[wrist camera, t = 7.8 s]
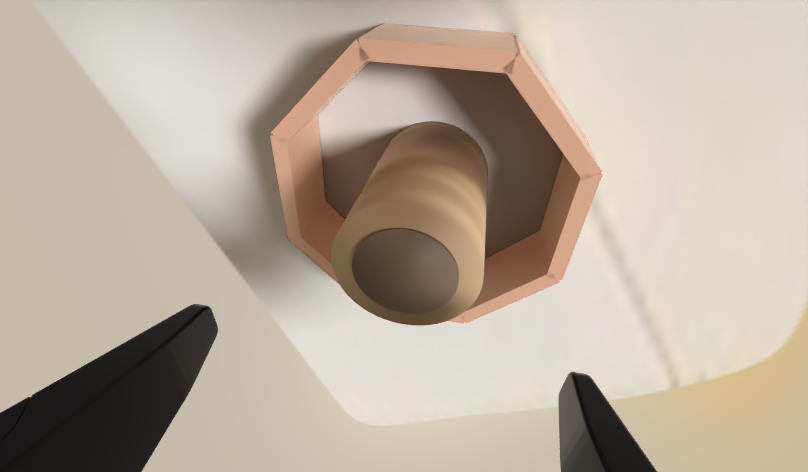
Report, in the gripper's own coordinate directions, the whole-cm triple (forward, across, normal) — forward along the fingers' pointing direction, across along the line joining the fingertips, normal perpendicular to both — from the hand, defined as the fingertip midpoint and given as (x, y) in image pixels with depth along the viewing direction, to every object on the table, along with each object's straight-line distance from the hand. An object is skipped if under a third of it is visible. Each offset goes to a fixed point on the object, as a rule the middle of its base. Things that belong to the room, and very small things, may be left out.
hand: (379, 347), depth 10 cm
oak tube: (+9, 0, 0) cm, 9 cm away
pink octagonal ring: (+9, 0, 0) cm, 9 cm away
